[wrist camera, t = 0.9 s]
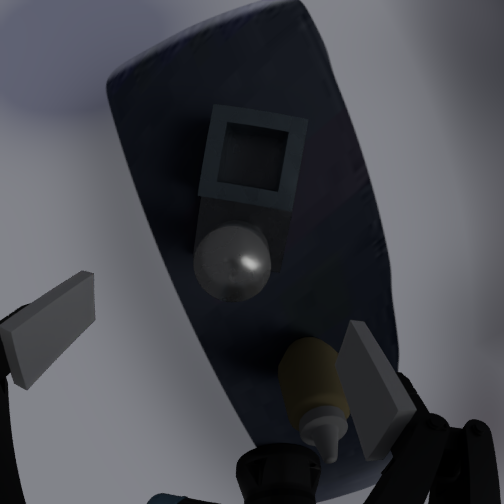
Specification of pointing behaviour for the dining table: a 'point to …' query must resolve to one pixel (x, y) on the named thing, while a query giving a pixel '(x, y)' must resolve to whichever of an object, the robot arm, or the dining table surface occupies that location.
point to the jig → (251, 173)
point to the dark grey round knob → (233, 261)
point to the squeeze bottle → (314, 395)
